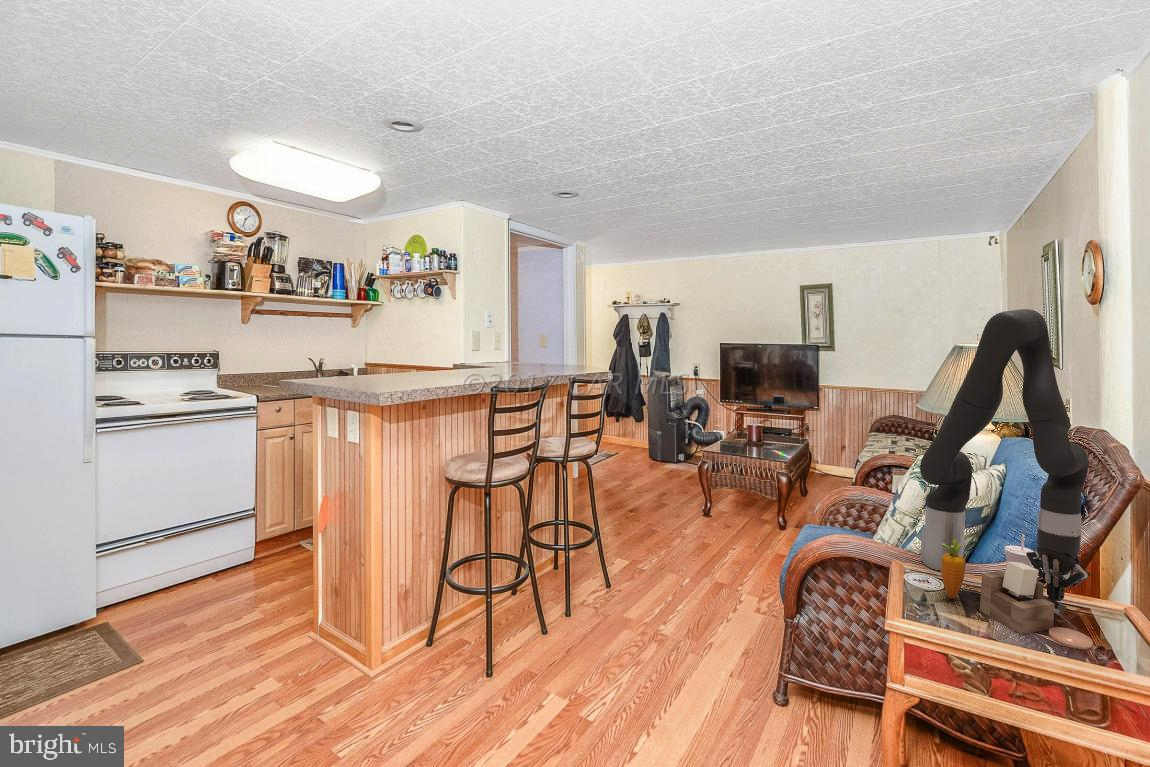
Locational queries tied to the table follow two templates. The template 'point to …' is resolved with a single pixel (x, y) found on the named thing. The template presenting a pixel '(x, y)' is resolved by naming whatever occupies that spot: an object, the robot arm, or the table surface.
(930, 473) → the robot arm
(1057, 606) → the dark grey long block
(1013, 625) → the box
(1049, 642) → the table surface
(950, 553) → the carrot
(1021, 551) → the smoothie
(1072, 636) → the terracotta dish
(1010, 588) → the cream block
